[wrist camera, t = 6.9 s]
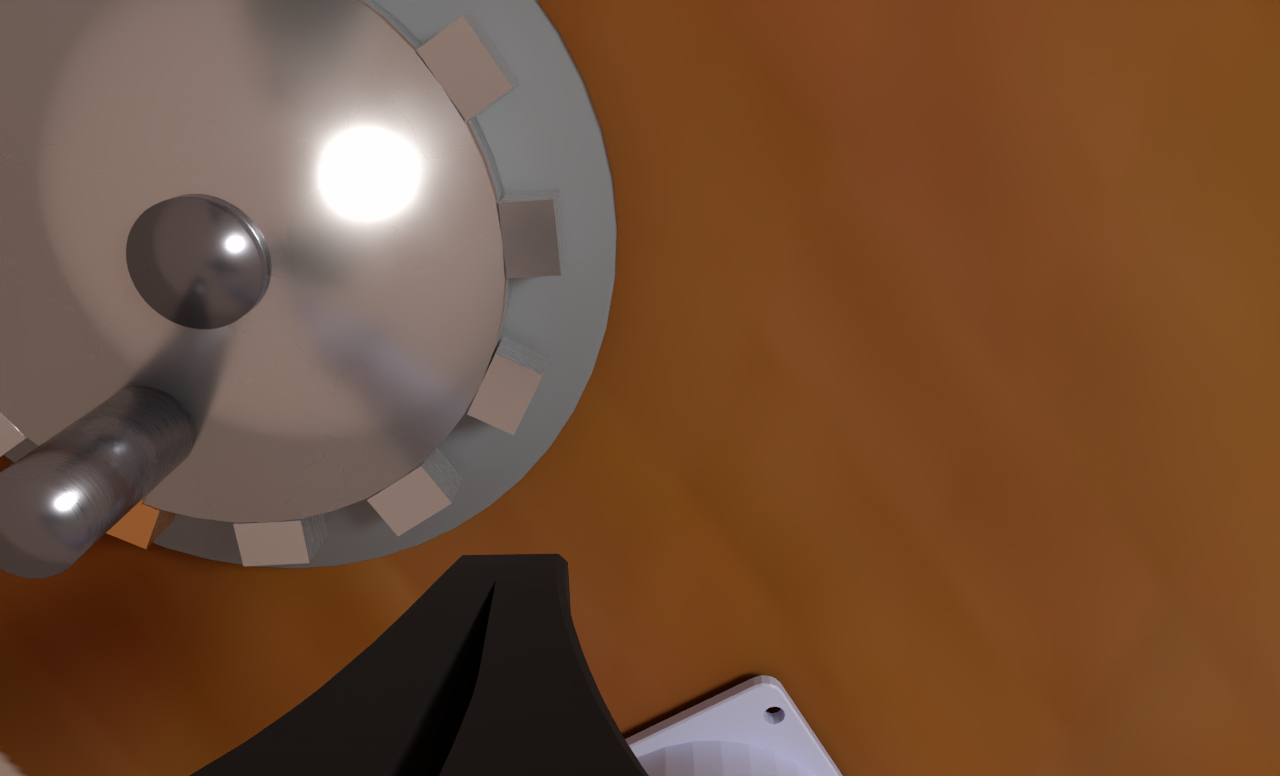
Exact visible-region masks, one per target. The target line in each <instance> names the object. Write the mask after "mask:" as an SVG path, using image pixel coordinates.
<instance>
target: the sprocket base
mask: <svg viewBox="0 0 1280 776" xmlns="http://www.w3.org/2000/svg"><path fill="white" fill-rule="evenodd" d="M374 1H376V2H377V3H378V4H380V5H381V6H382V7H383V8H385V9H386V10H387V11H389V12H390V13H391V14H392V15H394V16H395V17H396V18H398V19H399V20H400V21H401V22H402V23H403V24H404V25H405V26H406V27H407V28H408V29H409V30H410V31H411V32H412V33H413V34H414V35H415V36H416V37H417V38H418V39H419V40H420V41H421V42H422V43H423V44H425V43H426V42H428V41H429V40H430V39H432V38H433V37H434V36H436V35H437V34H438V33H440V32H441V31H442V30H444V29H445V28H446V27H448V26H449V25H450V24H452V23H453V22H454V21H456V20H457V19H458V18H460V17H461V16H462V15H468V16H476V18H477V19H478V21H479V22H480V24H481V25H482V27H483V28H484V29H485V31H486V32H487V34H488V35H489V37H490V38H491V40H492V41H493V43H494V44H495V46H496V47H497V49H498V50H499V52H500V53H501V55H502V56H503V58H504V59H505V61H506V62H507V64H508V65H509V66H510V68H511V69H512V71H513V72H514V74H515V75H516V77H517V78H518V80H519V81H520V83H521V85H519V86H518V87H517V88H515V89H514V90H512V91H511V92H510V93H508V94H507V95H506V96H504V97H503V98H501V99H500V100H499V101H497V102H496V103H494V104H493V105H492V106H490V107H489V108H487V109H486V110H485V111H483V112H482V113H480V114H479V115H478V116H476V117H477V119H478V122H479V124H480V126H481V128H482V130H483V133H484V135H485V137H486V139H487V141H488V144H489V146H490V148H491V150H492V152H493V155H494V158H495V161H496V164H497V167H498V171H499V174H500V177H501V180H502V183H503V187H504V190H505V194H506V193H507V192H515V191H531V190H547V189H559V190H560V201H561V211H562V222H563V233H564V244H565V255H566V262H565V265H564V267H563V270H562V273H561V275H560V276H543V277H526V278H512V284H511V296H510V302H509V307H508V311H507V316H506V320H505V324H504V329H503V333H502V336H501V338H500V341H499V343H498V346H497V349H498V347H499V345H500V343H501V341H502V338H503V336H504V335H506V336H509V337H511V338H513V339H515V340H517V341H519V342H521V343H524V344H526V345H528V346H530V347H532V348H534V349H537V350H539V351H541V352H543V353H545V354H547V355H549V358H548V361H547V365H546V368H545V371H544V374H543V377H542V379H541V381H540V383H539V385H538V387H537V389H536V391H535V393H534V395H533V397H532V399H531V401H530V403H529V405H528V407H527V409H526V412H525V414H524V416H523V418H522V420H521V422H520V424H519V426H518V428H517V430H516V432H515V434H514V435H512V434H510V433H507V432H505V431H503V430H501V429H499V428H496V427H494V426H492V425H490V424H487V423H485V422H483V421H481V420H478V419H476V418H474V417H472V416H470V415H467V413H468V411H469V409H470V407H471V405H472V402H473V400H474V398H475V396H476V394H477V392H478V390H479V389H478V390H477V392H476V394H475V396H474V398H473V399H472V401H471V403H470V405H469V407H468V408H467V410H466V412H465V414H464V415H463V417H462V418H461V419H460V420H459V422H458V423H457V424H456V426H455V427H454V428H453V430H452V431H451V432H450V434H449V435H448V436H447V438H446V439H445V440H444V441H443V442H442V443H441V444H440V445H439V446H438V447H439V448H440V449H441V451H442V452H443V453H444V454H445V455H446V457H447V458H448V459H449V460H450V462H451V463H452V464H453V465H454V467H455V468H456V469H457V470H458V472H459V473H460V474H461V475H462V477H463V478H462V480H461V483H460V485H459V487H458V490H457V492H456V495H455V497H454V499H453V502H452V504H450V505H448V506H447V507H445V508H443V509H442V510H440V511H439V512H437V513H435V514H434V515H432V516H431V517H429V518H427V519H426V520H424V521H422V522H421V523H419V524H418V525H416V526H414V527H413V528H411V529H409V530H408V531H406V532H405V533H403V534H401V535H400V536H397V535H396V534H395V532H394V531H393V530H392V529H391V528H390V527H389V525H388V524H387V523H386V522H385V521H384V520H383V518H382V517H381V516H380V515H379V514H378V513H377V511H376V510H375V509H374V508H373V507H372V506H371V504H370V503H369V502H368V501H367V500H368V498H369V497H368V498H366V499H364V500H361V501H358V502H356V503H353V504H351V505H348V506H345V507H343V508H340V509H337V510H335V511H331V512H327V513H324V517H325V522H326V527H327V532H328V535H327V537H326V538H325V540H324V541H323V543H322V545H321V546H320V548H319V549H318V551H317V552H316V554H315V555H314V557H313V559H312V560H311V562H310V563H302V564H282V565H262V566H257V567H280V568H306V567H321V566H335V565H342V564H348V563H353V562H358V561H363V560H368V559H374V558H379V557H382V556H385V555H389V554H392V553H395V552H398V551H401V550H404V549H407V548H410V547H413V546H416V545H419V544H421V543H424V542H426V541H428V540H430V539H432V538H434V537H436V536H438V535H441V534H443V533H445V532H447V531H449V530H451V529H453V528H455V527H457V526H459V525H460V524H462V523H463V522H465V521H467V520H468V519H470V518H471V517H473V516H474V515H476V514H477V513H479V512H481V511H482V510H484V509H485V508H487V507H488V506H490V505H491V504H492V503H494V502H495V501H496V500H497V499H498V498H499V497H501V496H502V495H503V494H504V493H505V492H507V491H508V490H509V489H510V488H511V487H512V486H514V485H515V484H516V483H517V482H518V481H519V480H521V479H522V478H523V477H524V476H525V474H526V473H527V472H528V471H529V470H530V469H531V468H532V467H533V465H534V464H535V463H536V462H537V461H538V460H539V459H540V457H541V456H542V455H543V454H544V453H545V452H546V451H547V450H548V448H549V447H550V446H551V445H552V443H553V442H554V440H555V439H556V437H557V435H558V434H559V432H560V431H561V429H562V428H563V426H564V425H565V423H566V422H567V420H568V419H569V417H570V416H571V414H572V413H573V411H574V409H575V407H576V405H577V403H578V401H579V399H580V397H581V395H582V393H583V391H584V388H585V386H586V384H587V382H588V380H589V378H590V376H591V374H592V372H593V368H594V365H595V362H596V359H597V356H598V353H599V350H600V346H601V343H602V340H603V337H604V334H605V331H606V326H607V320H608V314H609V309H610V303H611V297H612V291H613V285H614V279H615V272H616V246H617V217H616V207H615V196H614V186H613V176H612V172H611V168H610V163H609V159H608V155H607V150H606V146H605V141H604V137H603V133H602V128H601V126H600V123H599V120H598V118H597V115H596V112H595V109H594V107H593V104H592V101H591V98H590V96H589V93H588V90H587V87H586V85H585V82H584V80H583V78H582V76H581V74H580V72H579V70H578V68H577V66H576V64H575V62H574V60H573V58H572V56H571V54H570V52H569V50H568V49H567V47H566V45H565V43H564V41H563V39H562V37H561V35H560V33H559V32H558V30H557V29H556V27H555V26H554V24H553V23H552V21H551V20H550V18H549V17H548V15H547V14H546V12H545V11H544V10H543V8H542V7H541V5H540V4H539V2H538V1H537V0H374ZM497 349H496V351H497ZM496 351H495V353H496ZM494 355H495V354H494ZM37 447H38V445H37V444H35V443H34V442H33V441H31V440H30V439H27V440H26V441H24V442H23V443H21V444H20V445H18V446H17V447H15V448H14V449H12V450H11V451H9V452H8V453H6V454H5V456H6V457H7V458H9V459H10V460H11V461H12V462H14V463H15V462H16V461H18V460H19V459H21V458H22V457H24V456H25V455H26V454H28V453H29V452H31V451H32V450H34V449H35V448H37ZM234 523H235V522H225V521H217V520H209V519H201V518H194V517H190V516H186V515H182V514H177V513H176V515H175V518H174V521H173V522H172V523H171V524H170V525H169V526H168V527H167V528H166V529H165V530H164V531H163V532H162V533H161V534H160V535H159V536H158V538H157V539H156V540H155V541H154V542H153V543H155V544H157V545H160V546H162V547H165V548H168V549H172V550H176V551H179V552H183V553H187V554H191V555H194V556H198V557H202V558H206V559H209V560H215V561H222V562H228V563H235V564H241V565H243V562H242V558H241V554H240V550H239V546H238V542H237V538H236V534H235V530H234V526H233V524H234Z"/></svg>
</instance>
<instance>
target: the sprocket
mask: <svg viewBox="0 0 1280 776" xmlns="http://www.w3.org/2000/svg"><path fill="white" fill-rule="evenodd" d="M519 85H521V83H520V81H519V80H518V78H517V77H516V75H515V74H514V72H513V71H512V69H511V68H510V66H509V65H508V64H507V62H506V61H505V59H504V58H503V56H502V55H501V53H500V52H499V50H498V49H497V47H496V46H495V44H494V43H493V41H492V40H491V38H490V37H489V35H488V34H487V32H486V31H485V29H484V28H483V27H482V25H481V24H480V22H479V21H478V19H477V18H476V16H468V15H462V16H461V17H460V18H458V19H457V20H456V21H454V22H453V23H452V24H450V25H449V26H448V27H446V28H445V29H444V30H442V31H441V32H440V33H438V34H437V35H436V36H434V37H433V38H432V39H430V40H429V41H428V42H426V43H425V44H423V43H422V42H421V41H420V40H419V39H418V38H417V37H416V36H415V35H414V34H413V33H412V32H411V31H410V30H409V29H408V28H407V27H406V26H405V25H404V24H403V23H402V22H401V21H400V20H399V19H398V18H396V17H395V16H394V15H392V14H391V13H390V12H389V11H387V10H386V9H385V8H383V7H382V6H381V5H380V4H378V3H377V2H376V1H374V0H0V457H2V456H3V455H5V454H6V453H8V452H9V451H11V450H12V449H14V448H15V447H17V446H18V445H20V444H21V443H23V442H24V441H26V440H27V439H30V440H31V441H33V442H34V443H35V444H37V445H38V447H37V448H35V449H34V450H32V451H31V452H29V453H28V454H26V455H25V456H24V457H22V458H21V459H19V460H18V461H16V462H15V463H13V464H12V465H10V466H9V467H7V468H6V469H4V470H3V471H2V472H0V569H2V570H3V571H6V572H8V573H10V574H13V575H16V576H20V577H25V578H47V577H51V576H55V575H57V574H60V573H61V572H63V571H65V570H66V569H67V568H69V567H70V566H71V565H72V564H73V563H74V562H75V561H76V560H77V559H78V558H79V557H81V556H82V555H83V554H84V553H85V552H86V551H87V550H88V549H89V548H90V547H91V546H92V545H94V544H95V543H96V542H97V541H98V540H99V539H100V538H101V537H102V536H103V535H104V534H105V533H107V534H109V535H112V536H114V537H117V538H119V539H122V540H124V541H127V542H129V543H132V544H134V545H137V546H139V547H142V548H144V549H147V548H148V547H149V546H150V545H151V544H152V543H153V542H154V541H155V540H156V539H157V538H158V536H159V535H160V534H161V533H162V532H163V531H164V530H165V529H166V528H167V527H168V526H169V525H170V524H171V523H172V522H173V521H174V518H175V515H176V513H177V514H182V515H186V516H190V517H194V518H201V519H209V520H217V521H225V522H235V523H234V524H233V526H234V530H235V534H236V538H237V542H238V546H239V550H240V554H241V558H242V562H243V566H262V565H282V564H302V563H310V562H311V560H312V559H313V557H314V555H315V554H316V552H317V551H318V549H319V548H320V546H321V545H322V543H323V541H324V540H325V538H326V537H327V535H328V532H327V527H326V522H325V517H324V513H327V512H331V511H335V510H337V509H340V508H343V507H345V506H348V505H351V504H353V503H356V502H358V501H361V500H364V499H366V498H368V497H369V498H368V500H367V501H368V502H369V503H370V504H371V506H372V507H373V508H374V509H375V510H376V511H377V513H378V514H379V515H380V516H381V517H382V518H383V520H384V521H385V522H386V523H387V524H388V525H389V527H390V528H391V529H392V530H393V531H394V532H395V534H396V535H397V536H400V535H401V534H403V533H405V532H406V531H408V530H409V529H411V528H413V527H414V526H416V525H418V524H419V523H421V522H422V521H424V520H426V519H427V518H429V517H431V516H432V515H434V514H435V513H437V512H439V511H440V510H442V509H443V508H445V507H447V506H448V505H450V504H452V502H453V499H454V497H455V495H456V492H457V490H458V487H459V485H460V483H461V480H462V478H463V477H462V475H461V474H460V473H459V472H458V470H457V469H456V468H455V467H454V465H453V464H452V463H451V462H450V460H449V459H448V458H447V457H446V455H445V454H444V453H443V452H442V451H441V449H440V448H439V447H438V446H439V445H440V444H441V443H442V442H443V441H444V440H445V439H446V438H447V436H448V435H449V434H450V432H451V431H452V430H453V428H454V427H455V426H456V424H457V423H458V422H459V420H460V419H461V418H462V417H463V415H464V414H465V412H466V410H467V408H468V407H469V405H470V403H471V401H472V399H473V398H474V396H475V394H476V392H477V390H478V389H479V390H478V392H477V394H476V396H475V398H474V400H473V402H472V405H471V407H470V409H469V411H468V413H467V415H470V416H472V417H474V418H476V419H478V420H481V421H483V422H485V423H487V424H490V425H492V426H494V427H496V428H499V429H501V430H503V431H505V432H507V433H510V434H512V435H514V434H515V432H516V430H517V428H518V426H519V424H520V422H521V420H522V418H523V416H524V414H525V412H526V409H527V407H528V405H529V403H530V401H531V399H532V397H533V395H534V393H535V391H536V389H537V387H538V385H539V383H540V381H541V379H542V377H543V374H544V371H545V368H546V365H547V361H548V358H549V355H547V354H545V353H543V352H541V351H539V350H537V349H534V348H532V347H530V346H528V345H526V344H524V343H521V342H519V341H517V340H515V339H513V338H511V337H509V336H506V335H504V336H503V338H502V341H501V343H500V345H499V347H498V349H497V346H498V343H499V341H500V338H501V336H502V333H503V329H504V324H505V320H506V316H507V311H508V307H509V302H510V296H511V284H512V278H526V277H543V276H560V275H561V273H562V270H563V267H564V265H565V262H566V255H565V244H564V233H563V222H562V211H561V201H560V190H559V189H547V190H531V191H515V192H507V193H506V194H505V190H504V187H503V183H502V180H501V177H500V174H499V171H498V167H497V164H496V161H495V158H494V155H493V152H492V150H491V148H490V146H489V144H488V141H487V139H486V137H485V135H484V133H483V130H482V128H481V126H480V124H479V122H478V119H477V117H476V116H478V115H479V114H480V113H482V112H483V111H485V110H486V109H487V108H489V107H490V106H492V105H493V104H494V103H496V102H497V101H499V100H500V99H501V98H503V97H504V96H506V95H507V94H508V93H510V92H511V91H512V90H514V89H515V88H517V87H518V86H519ZM496 349H497V351H496ZM495 351H496V353H495ZM494 354H495V355H494Z"/></svg>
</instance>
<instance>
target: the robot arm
mask: <svg viewBox="0 0 1280 776" xmlns="http://www.w3.org/2000/svg"><path fill="white" fill-rule="evenodd" d="M770 707H779V708H781V710H779V711H778V712H775V713H768V712H766V710H767V709H768V708H770ZM190 776H842V774H841V773H840V771H839V770H838V768H837V767H836V765H835V764H834V762H833V761H832V759H831V758H830V756H829V755H828V753H827V752H826V750H825V749H824V747H823V746H822V744H821V743H820V741H819V740H818V738H817V737H816V735H815V734H814V732H813V731H812V729H811V728H810V726H809V725H808V723H807V722H806V720H805V719H804V717H803V716H802V714H801V713H800V711H799V710H798V708H797V707H796V705H795V704H794V702H793V701H792V699H791V698H790V696H789V695H788V693H787V692H786V690H785V689H784V688H783V686H782V685H781V683H780V682H779V681H778V680H777V679H776V678H773V677H771V676H764V675H760V676H757V677H753V678H751V679H749V680H747V681H745V682H743V683H741V684H739V685H737V686H735V687H733V688H730V689H728V690H726V691H724V692H722V693H720V694H718V695H716V696H714V697H712V698H710V699H708V700H705V701H703V702H701V703H699V704H697V705H695V706H693V707H691V708H689V709H687V710H685V711H683V712H680V713H678V714H676V715H674V716H672V717H670V718H668V719H666V720H664V721H662V722H660V723H658V724H656V725H653V726H651V727H649V728H647V729H645V730H643V731H641V732H639V733H637V734H635V735H633V736H631V737H628V738H626V739H624V737H623V735H622V733H621V732H620V730H619V728H618V726H617V725H616V723H615V721H614V719H613V718H612V716H611V714H610V712H609V710H608V708H607V706H606V704H605V702H604V700H603V698H602V696H601V694H600V692H599V690H598V688H597V685H596V683H595V681H594V679H593V676H592V674H591V672H590V670H589V667H588V665H587V662H586V659H585V657H584V654H583V652H582V649H581V646H580V643H579V640H578V637H577V634H576V631H575V628H574V625H573V621H572V617H571V610H570V593H569V576H568V562H567V561H566V560H565V559H564V558H563V557H561V556H560V555H559V554H517V555H462V556H461V557H460V558H459V559H458V560H457V561H456V562H455V563H454V564H453V565H452V566H451V567H450V568H449V569H448V570H447V571H446V572H445V573H444V574H443V575H442V576H441V577H440V578H439V579H438V580H437V581H436V582H435V583H434V584H433V585H432V586H431V587H430V588H429V589H428V590H427V591H426V592H425V593H424V594H423V595H422V596H421V597H420V598H419V599H418V600H417V601H416V602H415V603H414V604H413V605H412V606H411V607H410V608H409V609H408V610H407V611H406V612H405V613H404V614H403V615H402V616H401V617H400V618H399V619H398V620H397V621H396V622H394V623H393V624H392V625H391V626H390V627H389V628H388V629H387V630H386V631H385V632H384V633H383V634H382V635H381V636H380V637H379V638H378V639H377V640H376V641H375V642H374V643H372V644H371V645H370V646H369V647H368V648H367V649H365V650H364V651H363V652H362V653H361V654H360V655H358V656H357V657H356V658H355V659H354V660H353V661H351V662H350V663H349V664H348V665H347V666H346V667H344V668H343V669H342V670H341V671H340V672H339V673H338V674H336V675H335V676H334V677H333V678H332V679H331V680H329V681H328V682H327V683H326V684H325V685H323V686H322V687H321V688H320V689H318V690H317V691H316V692H315V693H313V694H312V695H311V696H309V697H308V698H307V699H305V700H304V701H303V702H301V703H300V704H299V705H297V706H296V707H295V708H293V709H292V710H291V711H289V712H288V713H286V714H285V715H284V716H282V717H281V718H279V719H278V720H276V721H275V722H274V723H272V724H271V725H269V726H268V727H267V728H265V729H264V730H262V731H261V732H259V733H258V734H257V735H255V736H254V737H252V738H250V739H249V740H247V741H246V742H244V743H243V744H241V745H240V746H238V747H236V748H235V749H233V750H231V751H230V752H228V753H226V754H225V755H223V756H221V757H220V758H218V759H216V760H215V761H213V762H211V763H210V764H208V765H206V766H205V767H203V768H201V769H200V770H198V771H196V772H195V773H193V774H191V775H190Z"/></svg>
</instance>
